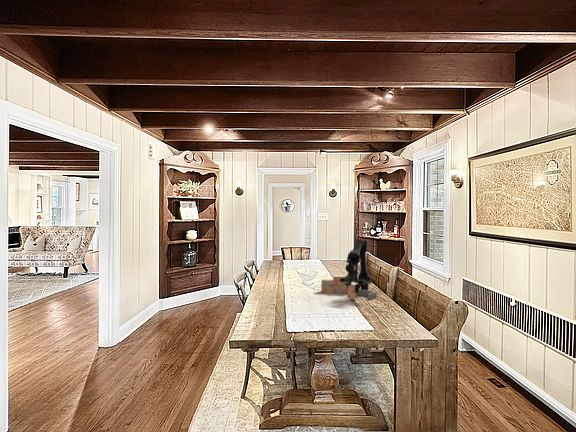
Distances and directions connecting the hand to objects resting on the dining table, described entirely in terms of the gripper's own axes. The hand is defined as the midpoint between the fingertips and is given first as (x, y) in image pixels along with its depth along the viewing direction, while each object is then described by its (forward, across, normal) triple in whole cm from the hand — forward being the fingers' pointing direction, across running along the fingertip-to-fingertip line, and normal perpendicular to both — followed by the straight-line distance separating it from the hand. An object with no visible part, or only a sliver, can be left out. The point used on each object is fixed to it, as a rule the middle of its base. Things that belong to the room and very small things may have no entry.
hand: (352, 293), depth 312 cm
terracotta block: (+2, 0, 0) cm, 2 cm away
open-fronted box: (+4, 0, +12) cm, 12 cm away
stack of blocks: (+4, -24, +14) cm, 28 cm away
